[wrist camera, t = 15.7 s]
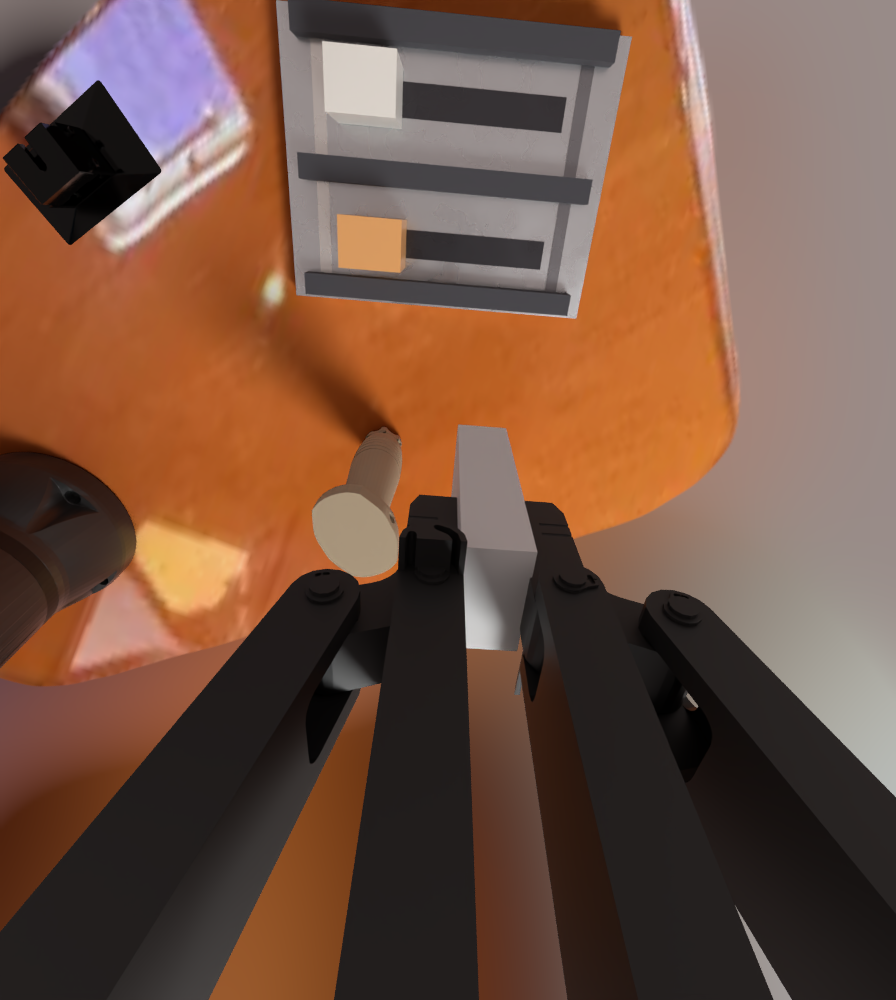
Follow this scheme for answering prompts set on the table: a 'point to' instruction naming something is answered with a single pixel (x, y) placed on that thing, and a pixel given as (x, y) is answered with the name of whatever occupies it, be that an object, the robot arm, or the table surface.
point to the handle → (363, 509)
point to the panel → (458, 165)
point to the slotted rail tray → (457, 35)
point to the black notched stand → (81, 164)
